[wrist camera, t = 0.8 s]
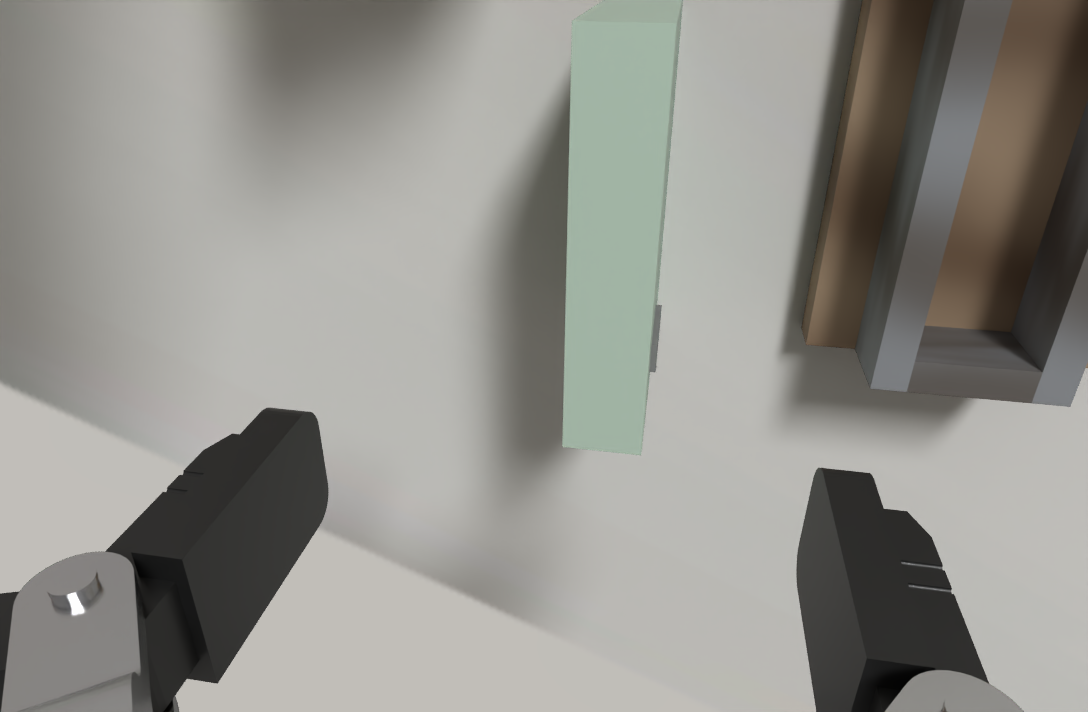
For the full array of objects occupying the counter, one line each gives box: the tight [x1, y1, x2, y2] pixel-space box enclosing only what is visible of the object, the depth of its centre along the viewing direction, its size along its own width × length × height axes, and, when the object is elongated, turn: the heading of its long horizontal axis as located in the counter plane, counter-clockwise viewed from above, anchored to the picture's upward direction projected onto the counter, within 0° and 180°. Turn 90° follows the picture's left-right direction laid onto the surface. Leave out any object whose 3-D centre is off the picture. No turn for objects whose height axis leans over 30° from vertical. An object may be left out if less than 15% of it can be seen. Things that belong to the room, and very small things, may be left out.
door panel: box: [562, 0, 683, 455], centre depth 25 cm, size 12×3×10 cm, turn 179°
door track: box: [802, 0, 1088, 407], centre depth 23 cm, size 24×10×4 cm, turn 0°
